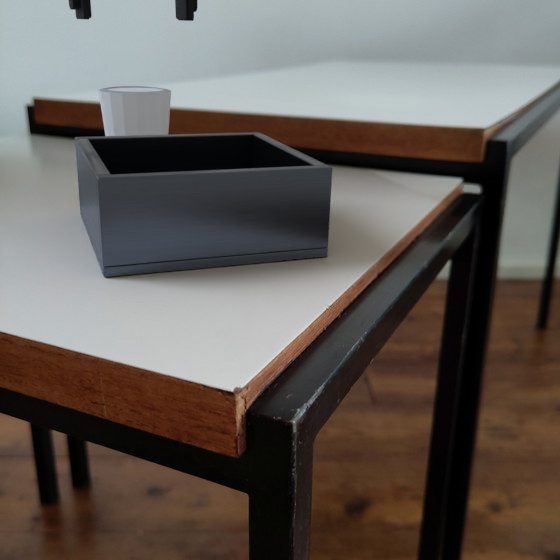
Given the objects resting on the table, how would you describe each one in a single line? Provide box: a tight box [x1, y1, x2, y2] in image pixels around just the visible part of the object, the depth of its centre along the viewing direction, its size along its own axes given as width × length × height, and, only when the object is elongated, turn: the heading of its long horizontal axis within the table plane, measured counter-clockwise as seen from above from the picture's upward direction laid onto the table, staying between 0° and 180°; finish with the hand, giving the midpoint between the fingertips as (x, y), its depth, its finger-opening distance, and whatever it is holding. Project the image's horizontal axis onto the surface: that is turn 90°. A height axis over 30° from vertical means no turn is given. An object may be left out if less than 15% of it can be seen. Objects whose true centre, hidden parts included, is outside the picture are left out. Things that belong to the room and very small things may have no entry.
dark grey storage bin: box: [74, 131, 333, 278], centre depth 46 cm, size 14×14×6 cm
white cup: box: [98, 85, 172, 136], centre depth 68 cm, size 7×7×7 cm
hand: (135, 19), depth 65 cm, fingers open, 9 cm apart
